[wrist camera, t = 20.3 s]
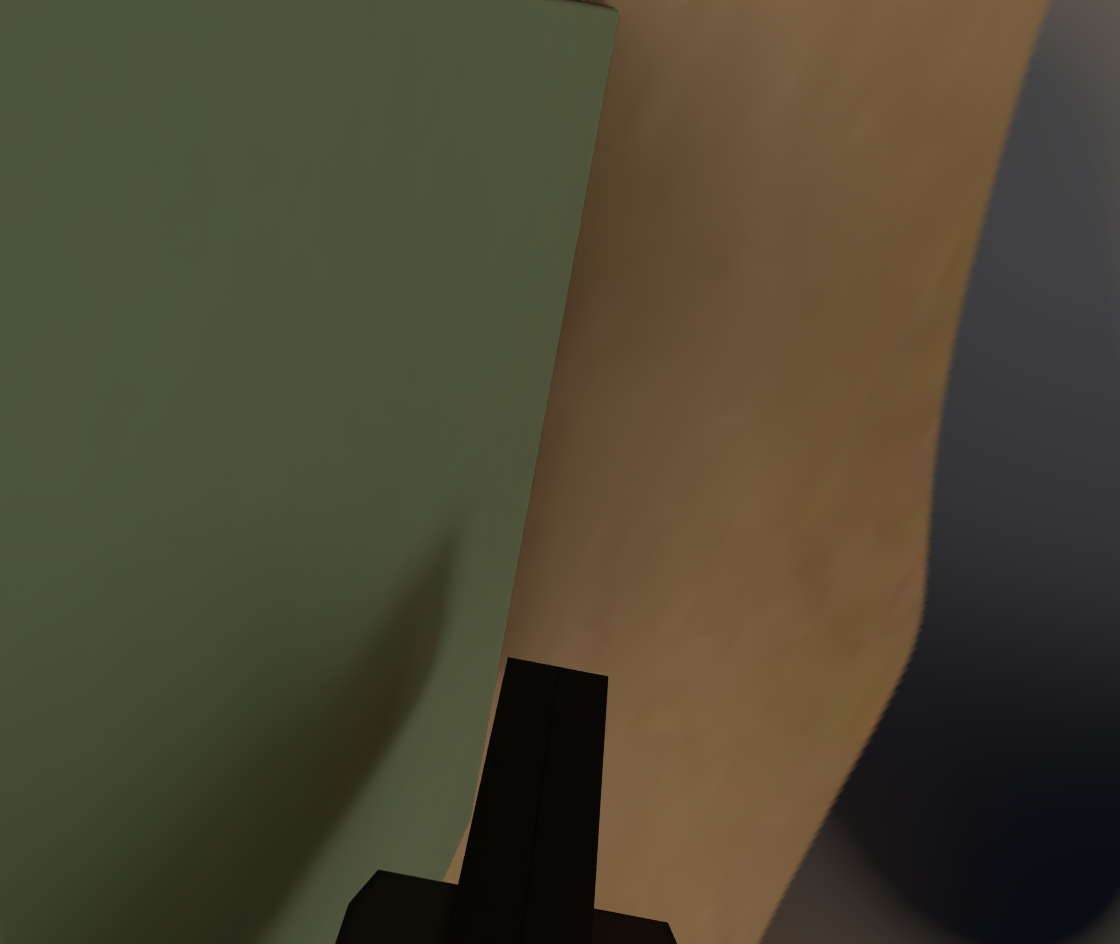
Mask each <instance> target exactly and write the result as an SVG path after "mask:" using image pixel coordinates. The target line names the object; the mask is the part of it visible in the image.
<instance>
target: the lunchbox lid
mask: <svg viewBox="0 0 1120 944" xmlns="http://www.w3.org/2000/svg"><path fill="white" fill-rule="evenodd" d="M618 18H619V11H618V10H616V9H612V8H607V7H602V6H597V5H592V4H587V3H581V2H575V1H570V0H0V944H335V942H336V939H337V936H338V933H339V930H340V927H341V925H342V922H343V919H344V916H345V913H346V910H347V907H348V904H349V902H350V901H351V900H352V899H353V898H354V897H355V895H356V894H357V893H358V892H359V891H360V890H361V889H362V887H363V886H364V885H365V884H366V883H367V882H368V881H369V879H370V878H371V877H372V876H373V875H374V874H375V873H376V871H377V870H378V869H379V870H384V871H389V872H394V873H399V874H405V875H410V876H415V877H420V878H425V879H431V880H436V881H441V882H442V881H443V879H444V877H445V875H446V872H447V870H448V868H449V866H450V864H451V861H452V859H453V857H454V855H455V852H456V850H457V848H458V846H459V843H460V841H461V839H462V837H463V835H464V832H465V830H466V828H467V826H468V823H469V821H470V819H471V813H472V808H473V802H474V797H475V792H476V786H477V781H478V775H479V770H480V765H481V759H482V754H483V748H484V743H485V738H486V732H487V727H488V721H489V716H490V710H491V705H492V700H493V694H494V689H495V683H496V678H497V673H498V667H499V662H500V656H501V651H502V646H503V640H504V635H505V629H506V624H507V618H508V613H509V608H510V602H511V597H512V591H513V586H514V581H515V575H516V570H517V564H518V559H519V554H520V548H521V543H522V537H523V532H524V526H525V521H526V516H527V510H528V505H529V499H530V494H531V489H532V483H533V478H534V472H535V467H536V462H537V456H538V451H539V445H540V440H541V434H542V429H543V424H544V418H545V413H546V407H547V402H548V397H549V391H550V386H551V380H552V375H553V370H554V364H555V359H556V353H557V348H558V343H559V337H560V332H561V326H562V321H563V315H564V310H565V305H566V299H567V294H568V288H569V283H570V278H571V272H572V267H573V261H574V256H575V251H576V245H577V240H578V234H579V229H580V223H581V218H582V213H583V207H584V202H585V196H586V191H587V186H588V180H589V175H590V169H591V164H592V159H593V153H594V148H595V142H596V137H597V131H598V126H599V121H600V115H601V110H602V104H603V99H604V94H605V88H606V83H607V77H608V72H609V67H610V61H611V56H612V50H613V45H614V39H615V34H616V29H617V23H618Z"/></svg>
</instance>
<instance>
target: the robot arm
mask: <svg viewBox="0 0 1120 944" xmlns="http://www.w3.org/2000/svg"><path fill="white" fill-rule="evenodd" d="M607 689H608V676H603V675H598V674H593V673H588V672H583V671H577V670H572V669H567V668H562V667H557V666H551V665H546V664H541V663H536V662H530V661H525V660H520V659H515V658H510V657H508V659H507V664H506V668H505V673H504V677H503V682H502V686H501V691H500V696H499V700H498V705H497V709H496V714H495V718H494V723H493V728H492V732H491V737H490V741H489V746H488V750H487V755H486V760H485V764H484V769H483V773H482V778H481V782H480V787H479V792H478V796H477V801H476V805H475V810H474V814H473V819H472V824H471V828H470V833H469V837H468V842H467V846H466V851H465V856H464V860H463V865H462V869H461V874H460V878H459V883H458V885H457V884H451V883H446V882H441V881H436V880H431V879H425V878H420V877H415V876H410V875H405V874H399V873H394V872H389V871H384V870H379V869H378V870H377V871H376V873H375V874H374V875H373V876H372V877H371V878H370V879H369V881H368V882H367V883H366V884H365V885H364V886H363V887H362V889H361V890H360V891H359V892H358V893H357V894H356V895H355V897H354V898H353V899H352V900H351V901H350V902H349V904H348V907H347V910H346V913H345V916H344V919H343V922H342V925H341V927H340V930H339V933H338V936H337V939H336V942H335V944H677V943H676V940H675V938H674V936H673V933H672V931H671V929H670V926H669V924H668V923H667V922H662V921H657V920H651V919H646V918H641V917H636V916H631V915H625V914H620V913H615V912H610V911H605V910H599V909H594V899H595V882H596V866H597V850H598V834H599V818H600V802H601V786H602V770H603V754H604V738H605V721H606V705H607Z"/></svg>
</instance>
